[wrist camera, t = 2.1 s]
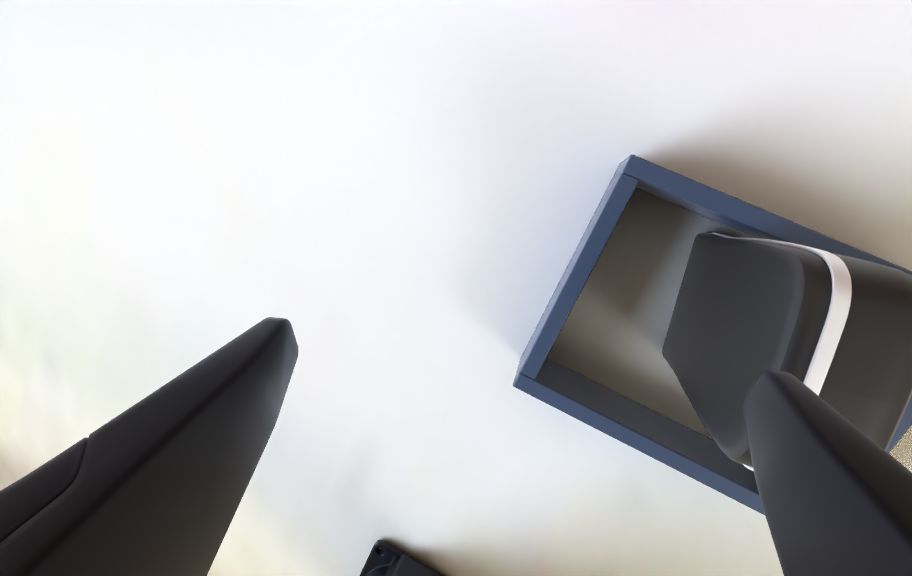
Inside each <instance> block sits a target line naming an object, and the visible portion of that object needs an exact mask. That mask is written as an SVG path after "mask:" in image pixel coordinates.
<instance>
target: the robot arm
mask: <svg viewBox="0 0 912 576" xmlns="http://www.w3.org/2000/svg"><path fill="white" fill-rule="evenodd" d="M297 357H298V345H297V342H296V339H295V335H294V332H293V329H292V326H291V323H290V322H289V321H288V320H287V319H283V318H273V317H269V318H266V319H264V320H262V321H261V322H259V323H258V324H256V325H255V326H253V327H252V328H250V329H249V330H247V331H246V332H244V333H243V334H241V335H240V336H238V337H237V338H235V339H234V340H232V341H231V342H229V343H228V344H226V345H225V346H223V347H222V348H220V349H218V350H217V351H215V352H214V353H212V354H211V355H209V356H208V357H206V358H205V359H203V360H202V361H200V362H199V363H197V364H196V365H194V366H193V367H191V368H190V369H188V370H187V371H185V372H184V373H182V374H181V375H179V376H178V377H176V378H175V379H173V380H172V381H170V382H169V383H167V384H165V385H164V386H162V387H161V388H159V389H158V390H156V391H155V392H153V393H152V394H150V395H149V396H147V397H146V398H144V399H143V400H141V401H140V402H138V403H137V404H135V405H134V406H132V407H131V408H129V409H128V410H126V411H125V412H123V413H122V414H120V415H119V416H117V417H116V418H114V419H112V420H111V421H109V422H108V423H106V424H105V425H103V426H102V427H100V428H99V429H97V430H96V431H94V432H93V433H91V434H90V435H89V438H83V439H82V440H80V441H79V442H77V443H76V444H74V445H73V446H71V447H70V448H68V449H67V450H65V451H64V452H62V453H61V454H59V455H58V456H56V457H54V458H53V459H51V460H50V461H48V462H47V463H45V464H43V465H42V466H40V467H39V468H37V469H36V470H34V471H32V472H31V473H29V474H28V475H26V476H25V477H23V478H21V479H20V480H18V481H16V482H15V483H13V484H11V485H10V486H8V487H6V488H5V489H3V490H1V491H0V576H207V574H208V571H209V569H210V567H211V565H212V563H213V560H214V558H215V556H216V554H217V552H218V549H219V547H220V545H221V543H222V541H223V539H224V536H225V534H226V532H227V530H228V528H229V525H230V523H231V521H232V519H233V517H234V514H235V512H236V510H237V508H238V506H239V503H240V501H241V499H242V497H243V495H244V493H245V490H246V488H247V486H248V484H249V482H250V479H251V477H252V475H253V473H254V471H255V468H256V466H257V464H258V462H259V460H260V457H261V455H262V453H263V451H264V449H265V446H266V444H267V442H268V440H269V438H270V435H271V433H272V431H273V428H274V426H275V423H276V421H277V418H278V415H279V412H280V409H281V406H282V403H283V400H284V397H285V394H286V391H287V388H288V385H289V382H290V379H291V376H292V373H293V369H294V366H295V363H296V360H297ZM742 411H743V416H744V421H745V427H746V432H747V437H748V443H749V448H750V453H751V459H752V464H753V469H754V475H755V479H756V484H757V488H758V492H759V495H760V499H761V502H762V505H763V509H764V512H765V515H766V518H767V522H768V525H769V528H770V531H771V535H772V538H773V541H774V544H775V548H776V551H777V554H778V557H779V561H780V564H781V567H782V570H783V573H784V576H912V473H911V472H910V471H909V470H908V469H907V468H905V467H904V466H903V465H902V464H901V463H899V462H898V461H897V460H896V459H895V458H893V457H892V456H891V455H890V454H888V453H887V452H886V451H885V450H884V449H882V448H881V447H880V446H879V445H878V444H876V443H875V442H874V441H873V440H871V439H870V438H869V437H868V436H867V435H865V434H864V433H863V432H862V431H861V430H859V429H858V428H857V427H856V426H854V425H853V424H852V423H851V422H850V421H848V420H847V419H846V418H845V417H844V416H842V415H841V414H840V413H839V412H838V411H836V410H835V409H834V408H833V407H831V406H830V405H829V404H828V403H827V402H825V401H824V400H823V399H822V398H821V397H819V396H818V395H817V394H816V393H814V392H813V391H812V390H811V389H810V388H808V387H807V386H806V385H805V384H804V383H802V382H801V381H800V380H799V379H797V378H796V377H795V376H794V375H792V374H791V373H788V372H784V371H775V370H764V371H762V372H760V373H759V375H758V376H757V378H756V379H755V381H754V382H753V384H752V385H751V387H750V388H749V389H748V391H747V392H746V394H745V396H744V398H743V401H742ZM380 548H381V549H382V550H381V549H380ZM360 576H443V575H441V574H440V573H438V572H436V571H435V570H433V569H431V568H430V567H428V566H426V565H424V564H423V563H421V562H419V561H418V560H416V559H414V558H413V557H411V556H409V555H407V554H406V553H404V552H402V551H401V550H399V549H397V548H396V547H394V546H392V545H391V544H389V543H387V542H385V541H383V540H378V541H377V542H376V543H375V545H374V547H373V549H372V551H371V553H370V555H369V557H368V559H367V561H366V563H365V566H364V568H363V570H362V572H361V574H360Z"/></svg>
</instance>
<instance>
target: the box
mask: <svg viewBox="0 0 912 576" xmlns="http://www.w3.org/2000/svg"><path fill="white" fill-rule="evenodd" d="M636 188H639V189H641V190H643V191H646V192H648V193H650V194H653V195H655V196H657V197H660V198H662V199H664V200H667V201H669V202H671V203H674V204H676V205H678V206H681V207H683V208H685V209H688V210H690V211H692V212H695V213H697V214H699V215H702V216H704V217H706V218H709V219H711V220H713V221H716V222H718V223H720V224H723V225H725V226H727V227H730V228H732V229H734V230H737V231H739V232H741V233H744V234H746V235H748V236H751V237H753V238H758V239H770V240H776V241H783V242H788V243H794V244H799V245H804V246H808V247H812V248H816V249H820V250H824V251H827V252H829V253H834V254H840V255H844V256H849V257H854V258H858V259H862V260H866V261H870V262H874V263H878V264H881V265H885V266H888V267H892V268H895V269H899V270H901V271H903V272H905V273H907V274H910V275H912V271H909V270H907V269H905V268H902V267H900V266H897V265H895V264H893V263H890V262H888V261H885V260H883V259H881V258H878V257H876V256H874V255H871V254H869V253H866V252H864V251H862V250H859V249H857V248H854V247H852V246H850V245H847V244H845V243H843V242H840V241H838V240H835V239H833V238H831V237H828V236H826V235H823V234H821V233H819V232H816V231H814V230H812V229H809V228H807V227H804V226H802V225H800V224H797V223H795V222H792V221H790V220H788V219H785V218H783V217H781V216H778V215H776V214H773V213H771V212H769V211H766V210H764V209H761V208H759V207H757V206H754V205H752V204H749V203H747V202H745V201H742V200H740V199H738V198H735V197H733V196H730V195H728V194H726V193H723V192H721V191H718V190H716V189H714V188H711V187H709V186H707V185H704V184H702V183H699V182H697V181H695V180H692V179H690V178H687V177H685V176H683V175H680V174H678V173H676V172H673V171H671V170H668V169H666V168H664V167H661V166H659V165H656V164H654V163H652V162H649V161H647V160H645V159H642V158H640V157H637V156H635V155H631V156H629V157H628V158H627V159H625V160H624V161H623V162H621V163H620V164H619V166H618V168H617V170H616V172H615V174H614V178H612V180H611V182H610V184H609V186H608V188H607V190H606V192H605V194H604V196H603V198H602V200H601V202H600V204H599V206H598V208H597V209H596V211H595V213H594V215H593V217H592V219H591V221H590V223H589V225H588V227H587V229H586V231H585V233H584V235H583V237H582V239H581V241H580V243H579V245H578V247H577V249H576V251H575V253H574V255H573V257H572V259H571V260H570V262H569V264H568V266H567V268H566V270H565V272H564V274H563V276H562V278H561V280H560V282H559V284H558V286H557V288H556V290H555V292H554V294H553V296H552V298H551V300H550V302H549V304H548V306H547V308H546V309H545V311H544V313H543V315H542V317H541V319H540V321H539V323H538V325H537V327H536V329H535V331H534V333H533V335H532V337H531V339H530V341H529V343H528V345H527V347H526V349H525V351H524V353H523V355H522V357H521V359H520V362H519V366H518V369H517V372H516V376H515V379H514V383H513V386H514V387H516V388H518V389H520V390H522V391H524V392H526V393H528V394H530V395H531V396H533V397H535V398H537V399H539V400H541V401H543V402H545V403H547V404H549V405H551V406H553V407H555V408H557V409H559V410H561V411H563V412H565V413H567V414H569V415H570V416H572V417H574V418H576V419H578V420H580V421H582V422H584V423H586V424H588V425H590V426H592V427H594V428H596V429H598V430H600V431H602V432H604V433H606V434H608V435H609V436H611V437H613V438H615V439H617V440H619V441H621V442H623V443H625V444H627V445H629V446H631V447H633V448H635V449H637V450H639V451H641V452H643V453H645V454H647V455H648V456H650V457H652V458H654V459H656V460H658V461H660V462H662V463H664V464H666V465H668V466H670V467H672V468H674V469H676V470H678V471H680V472H682V473H684V474H686V475H687V476H689V477H691V478H693V479H695V480H697V481H699V482H701V483H703V484H705V485H707V486H709V487H711V488H713V489H715V490H717V491H719V492H721V493H723V494H725V495H726V496H728V497H730V498H732V499H734V500H736V501H738V502H740V503H742V504H744V505H746V506H748V507H750V508H752V509H754V510H756V511H758V512H760V513H762V514H764V515H765V512H764V509H763V505H762V502H761V499H760V495H759V492H758V488H757V484H756V479H755V475H754V471H752V470H750V469H748V468H746V467H745V466H744V465H743V464H741V463H737V462H735V461H733V460H731V459H730V458H729V457H727V455H726V454H725V453H724V452H723V451H722V450H721V449H720V448H719V447H718V445H717V444H716V442H715V441H713V440H711V439H709V438H707V437H705V436H703V435H701V434H699V433H697V432H695V431H693V430H691V429H689V428H687V427H685V426H683V425H681V424H679V423H677V422H675V421H673V420H671V419H669V418H667V417H665V416H663V415H661V414H659V413H657V412H655V411H653V410H651V409H649V408H647V407H645V406H643V405H641V404H639V403H637V402H635V401H633V400H631V399H629V398H627V397H625V396H623V395H621V394H619V393H617V392H615V391H613V390H611V389H609V388H607V387H605V386H603V385H601V384H599V383H597V382H595V381H593V380H591V379H589V378H587V377H585V376H583V375H581V374H579V373H577V372H575V371H573V370H571V369H569V368H567V367H565V366H563V365H561V364H559V363H557V362H555V361H553V360H550V359H548V358H546V357H547V355H548V354H549V352H550V350H551V348H552V346H553V344H554V342H555V340H556V338H557V336H558V335H559V333H560V331H561V329H562V327H563V325H564V323H565V321H566V319H567V317H568V316H569V314H570V312H571V310H572V308H573V306H574V304H575V302H576V300H577V299H578V297H579V295H580V293H581V291H582V289H583V287H584V285H585V283H586V281H587V280H588V278H589V276H590V274H591V272H592V270H593V268H594V266H595V264H596V262H597V261H598V259H599V257H600V255H601V253H602V251H603V249H604V247H605V245H606V244H607V242H608V240H609V238H610V236H611V234H612V232H613V230H614V228H615V226H616V225H617V223H618V221H619V219H620V217H621V215H622V213H623V211H624V209H625V208H626V206H627V204H628V202H629V200H630V198H631V196H632V194H633V192H634V190H635V189H636ZM911 425H912V396H911V399H910V401H909V404H908V406H907V408H906V410H905V412H904V414H903V417H902V419H901V421H900V423H899V425H898V428H897V430H896V432H895V434H894V436H893V438H892V441H891V443H890V445H889V447H888V449H887V453H889V452H890V451H891V450H892V448H893V447H894V446H895V445H896V443H897V442H898V441H899V440H900V439H901V437H902V436H903V435H904V434H905V432H906V431H907V430H908V429H909V428H910V426H911ZM765 516H766V515H765Z"/></svg>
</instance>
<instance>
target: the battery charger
mask: <svg viewBox="0 0 912 576" xmlns="http://www.w3.org/2000/svg"><path fill="white" fill-rule="evenodd" d="M662 354H663V357H664V358H665V359H666V361H667V362H668V363H669V365H670V367H671V368H672V369H673V371H674V373H675V374H676V376H677V378H678V380H679V382H680V384H681V386H682V388H683V389H684V391H685V393H686V395H687V397H688V399H689V401H690V402H691V404H692V406H693V408H694V410H695V411H696V413H697V415H698V416H699V418H700V420H701V421H702V423H703V424H704V426H705V427H706V429H707V430H708V432H709V433H710V435H711V436H712V438H713V439H714V441H715V442H716V444H717V445H718V447H719V448H720V449H721V450H722V451H723V452H724V453H725V454H726V455H727V457H729V458H730V459H731V460H733V461H735V462H737V463H741V464H743V465H744V466H745V467H746V468H748V469H750V470H752V471H754V469H753V464H752V459H751V453H750V448H749V443H748V437H747V432H746V427H745V421H744V416H743V411H742V401H743V398H744V396H745V394H746V392H747V391H748V389H749V388H750V387H751V385H752V384H753V382H754V381H755V379H756V378H757V376H758V375H759V373H760V372H762V371H764V370H775V371H784V372H788V373H791V374H792V375H794V376H795V377H796V378H797V379H799V380H800V381H801V382H802V383H804V384H805V385H806V386H807V387H808V388H810V389H811V390H812V391H813V392H814V393H816V394H817V395H818V396H819V397H821V398H822V399H823V400H824V401H825V402H827V403H828V404H829V405H830V406H831V407H833V408H834V409H835V410H836V411H838V412H839V413H840V414H841V415H842V416H844V417H845V418H846V419H847V420H848V421H850V422H851V423H852V424H853V425H854V426H856V427H857V428H858V429H859V430H861V431H862V432H863V433H864V434H865V435H867V436H868V437H869V438H870V439H871V440H873V441H874V442H875V443H876V444H878V445H879V446H880V447H881V448H882V449H884V450H885V451H886V452H887V449H888V447H889V445H890V443H891V441H892V438H893V436H894V434H895V432H896V430H897V428H898V425H899V423H900V421H901V419H902V417H903V414H904V412H905V410H906V408H907V406H908V404H909V401H910V399H911V396H912V275H910V274H907V273H905V272H903V271H901V270H899V269H895V268H892V267H888V266H885V265H881V264H878V263H874V262H870V261H866V260H862V259H858V258H854V257H849V256H844V255H840V254H834V253H829V252H827V251H824V250H820V249H816V248H812V247H808V246H804V245H799V244H794V243H788V242H783V241H776V240H770V239H758V238H736V237H731V236H727V235H724V234H721V233H715V232H713V233H711V234H710V233H700V234H698V235H697V236H696V238H695V240H694V244H693V247H692V250H691V254H690V257H689V260H688V264H687V267H686V270H685V274H684V277H683V280H682V284H681V287H680V291H679V294H678V297H677V301H676V304H675V308H674V311H673V315H672V318H671V322H670V325H669V329H668V332H667V336H666V339H665V343H664V346H663V351H662Z"/></svg>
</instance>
